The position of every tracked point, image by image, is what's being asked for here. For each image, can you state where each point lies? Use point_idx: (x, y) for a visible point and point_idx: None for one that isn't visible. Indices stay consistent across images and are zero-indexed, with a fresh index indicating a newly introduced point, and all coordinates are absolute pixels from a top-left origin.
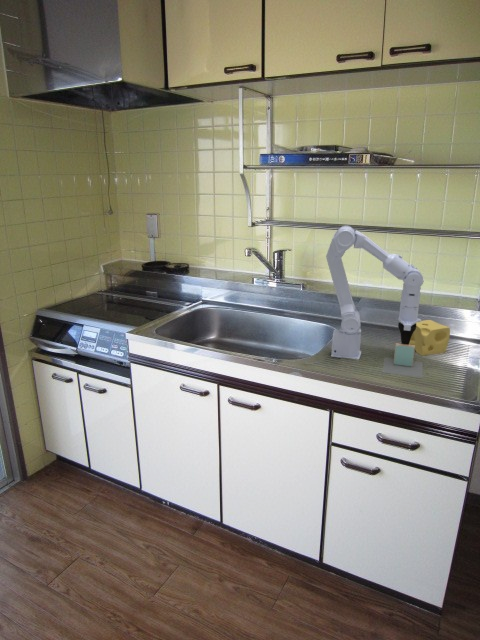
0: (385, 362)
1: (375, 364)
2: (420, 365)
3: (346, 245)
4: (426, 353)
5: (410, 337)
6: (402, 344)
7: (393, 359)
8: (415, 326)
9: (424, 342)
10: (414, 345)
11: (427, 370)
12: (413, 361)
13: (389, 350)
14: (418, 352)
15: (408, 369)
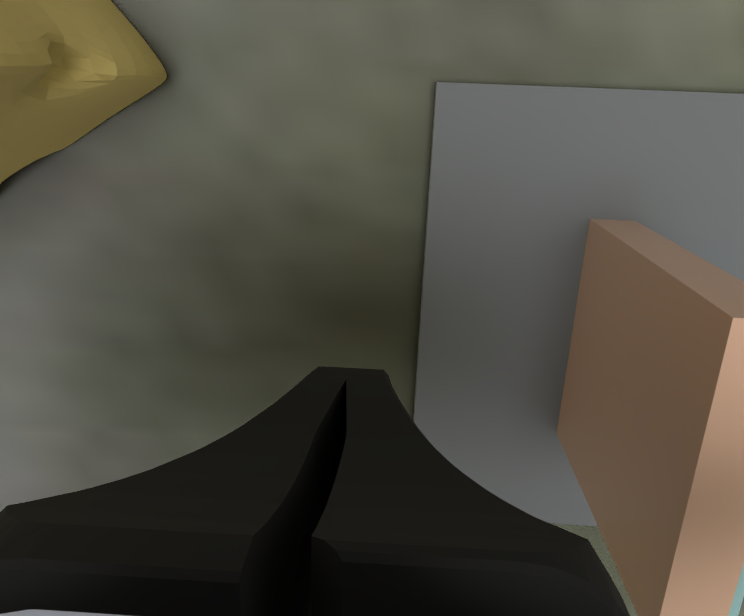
0: (560, 509)
1: None
2: (566, 115)
3: None
4: (105, 4)
5: (425, 442)
6: (708, 546)
7: (439, 430)
8: (369, 586)
9: (39, 49)
10: (740, 332)
11: (655, 18)
12: (440, 203)
13: (107, 451)
14: (90, 124)
15: (736, 274)
